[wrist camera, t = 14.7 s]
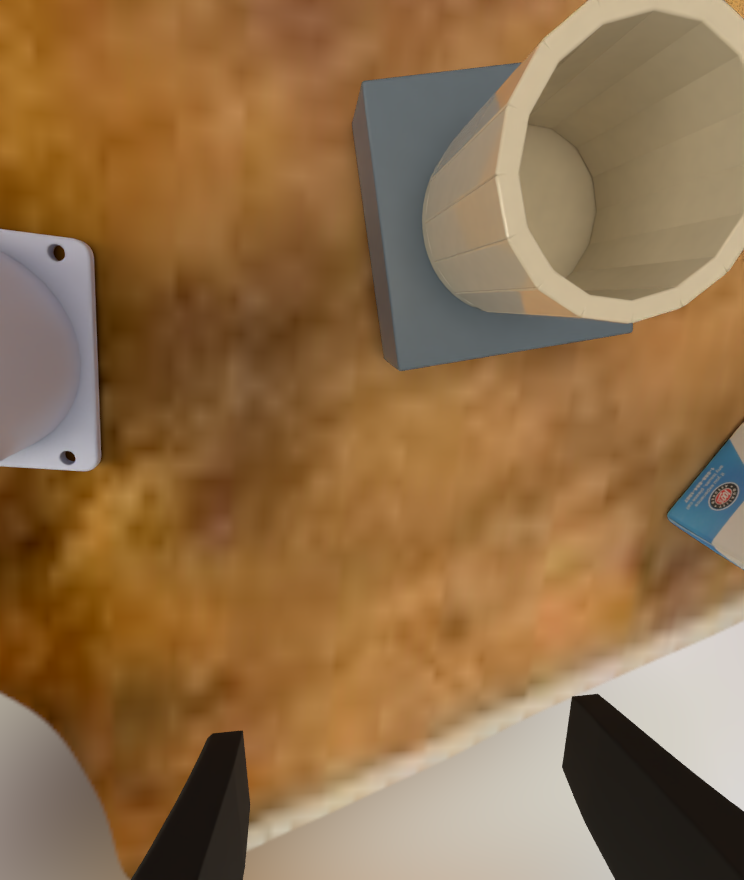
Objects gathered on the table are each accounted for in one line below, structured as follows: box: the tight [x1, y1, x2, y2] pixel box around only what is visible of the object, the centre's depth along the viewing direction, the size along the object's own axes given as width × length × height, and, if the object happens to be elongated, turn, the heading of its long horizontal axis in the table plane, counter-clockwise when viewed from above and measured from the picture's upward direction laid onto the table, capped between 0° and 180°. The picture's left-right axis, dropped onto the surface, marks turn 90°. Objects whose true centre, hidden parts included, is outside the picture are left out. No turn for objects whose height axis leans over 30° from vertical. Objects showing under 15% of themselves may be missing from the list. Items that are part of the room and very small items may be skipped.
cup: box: [422, 0, 744, 324], centre depth 12 cm, size 6×6×6 cm
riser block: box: [352, 63, 633, 371], centre depth 16 cm, size 8×8×3 cm
